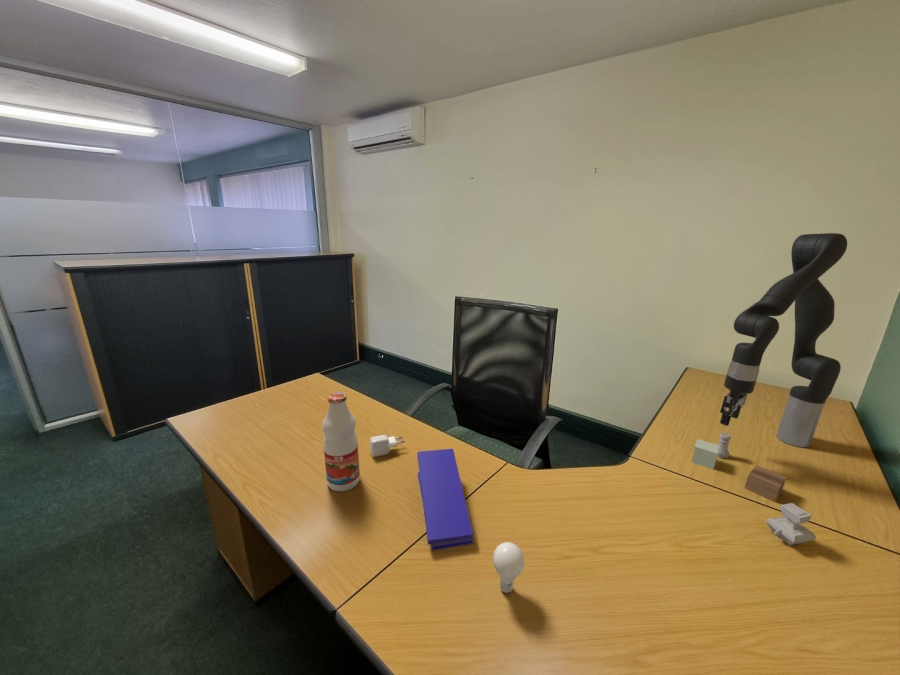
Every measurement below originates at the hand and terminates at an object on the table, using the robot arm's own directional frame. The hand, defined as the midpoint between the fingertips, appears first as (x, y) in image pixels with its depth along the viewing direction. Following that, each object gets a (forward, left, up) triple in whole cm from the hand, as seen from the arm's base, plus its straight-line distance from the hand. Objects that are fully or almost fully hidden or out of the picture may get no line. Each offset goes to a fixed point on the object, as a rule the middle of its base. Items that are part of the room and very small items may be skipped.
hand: (728, 420), depth 118 cm
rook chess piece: (0, 0, -13) cm, 13 cm away
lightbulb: (+94, -8, -13) cm, 95 cm away
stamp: (+27, +23, -13) cm, 38 cm away
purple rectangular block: (+92, -35, -14) cm, 99 cm away
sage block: (+9, -2, -13) cm, 16 cm away
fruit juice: (+110, -60, -13) cm, 126 cm away
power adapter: (+92, -66, -13) cm, 114 cm away
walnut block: (+10, +14, -13) cm, 22 cm away
